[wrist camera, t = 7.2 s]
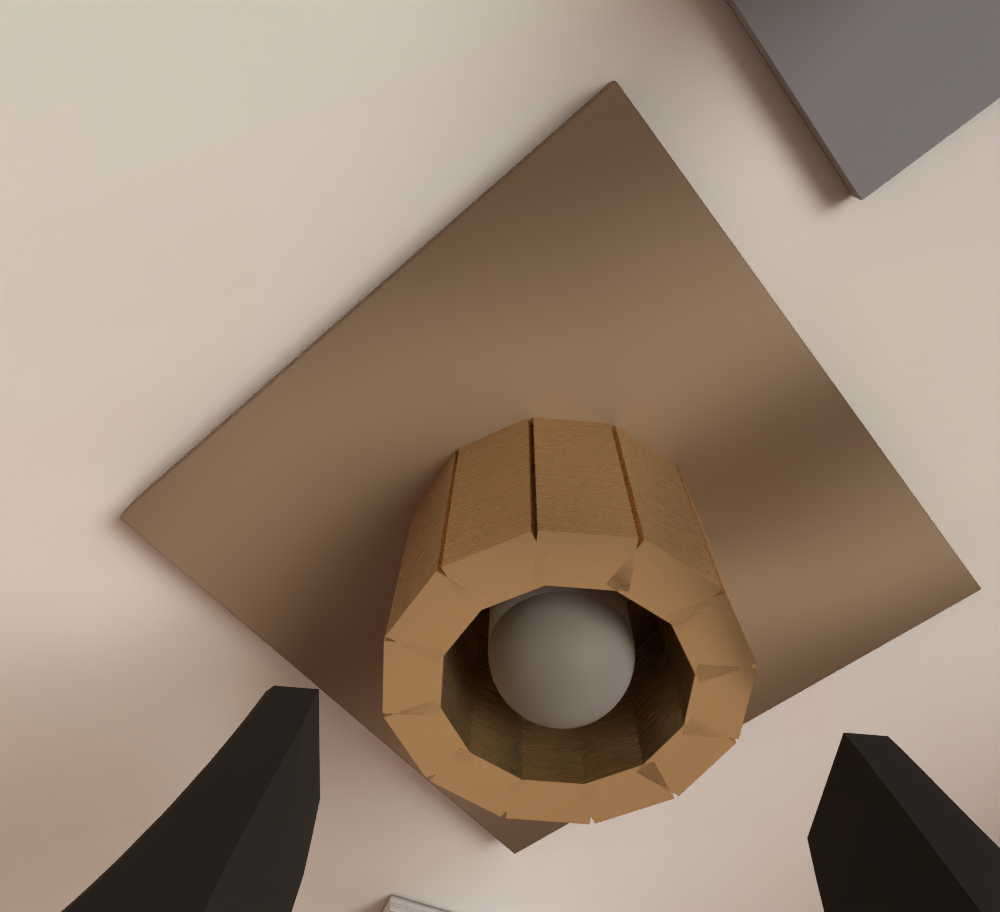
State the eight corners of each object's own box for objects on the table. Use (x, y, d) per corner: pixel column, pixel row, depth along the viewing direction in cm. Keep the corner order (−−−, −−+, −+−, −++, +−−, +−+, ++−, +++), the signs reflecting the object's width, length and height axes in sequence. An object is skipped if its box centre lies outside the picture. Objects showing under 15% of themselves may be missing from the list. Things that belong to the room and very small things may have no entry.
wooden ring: (674, 674, 18) (713, 833, 14) (408, 655, 18) (380, 809, 14) (724, 431, 15) (788, 549, 12) (417, 408, 15) (386, 518, 12)
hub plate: (966, 572, 17) (1116, 746, 13) (514, 832, 21) (513, 1038, 16) (612, 80, 13) (657, 95, 9) (131, 502, 17) (-1, 657, 13)
